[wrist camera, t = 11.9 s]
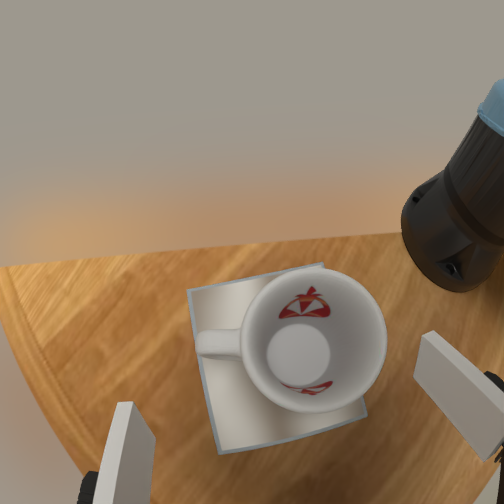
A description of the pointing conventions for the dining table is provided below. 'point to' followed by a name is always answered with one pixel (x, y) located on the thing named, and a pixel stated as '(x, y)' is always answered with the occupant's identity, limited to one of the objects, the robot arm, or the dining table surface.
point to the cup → (306, 341)
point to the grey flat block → (239, 383)
